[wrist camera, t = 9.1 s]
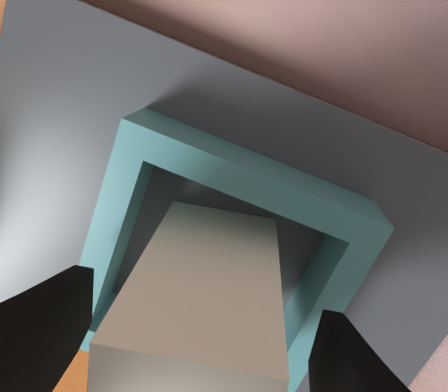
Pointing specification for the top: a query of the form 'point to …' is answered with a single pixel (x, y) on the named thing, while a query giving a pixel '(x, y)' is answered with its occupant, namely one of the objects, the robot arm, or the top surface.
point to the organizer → (212, 178)
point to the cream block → (197, 310)
